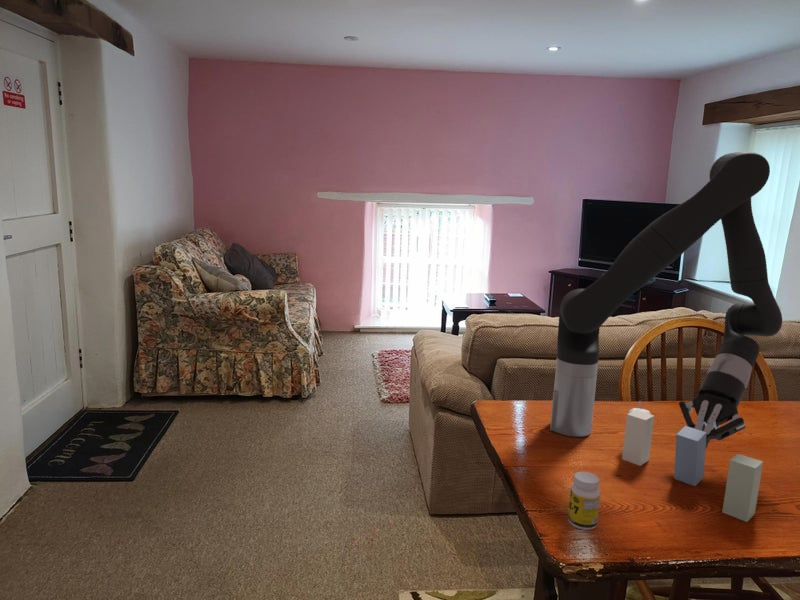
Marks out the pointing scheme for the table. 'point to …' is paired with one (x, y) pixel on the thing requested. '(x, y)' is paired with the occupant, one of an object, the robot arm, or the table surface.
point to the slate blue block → (690, 455)
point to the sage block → (742, 487)
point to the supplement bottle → (584, 501)
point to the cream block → (638, 437)
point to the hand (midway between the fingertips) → (695, 451)
